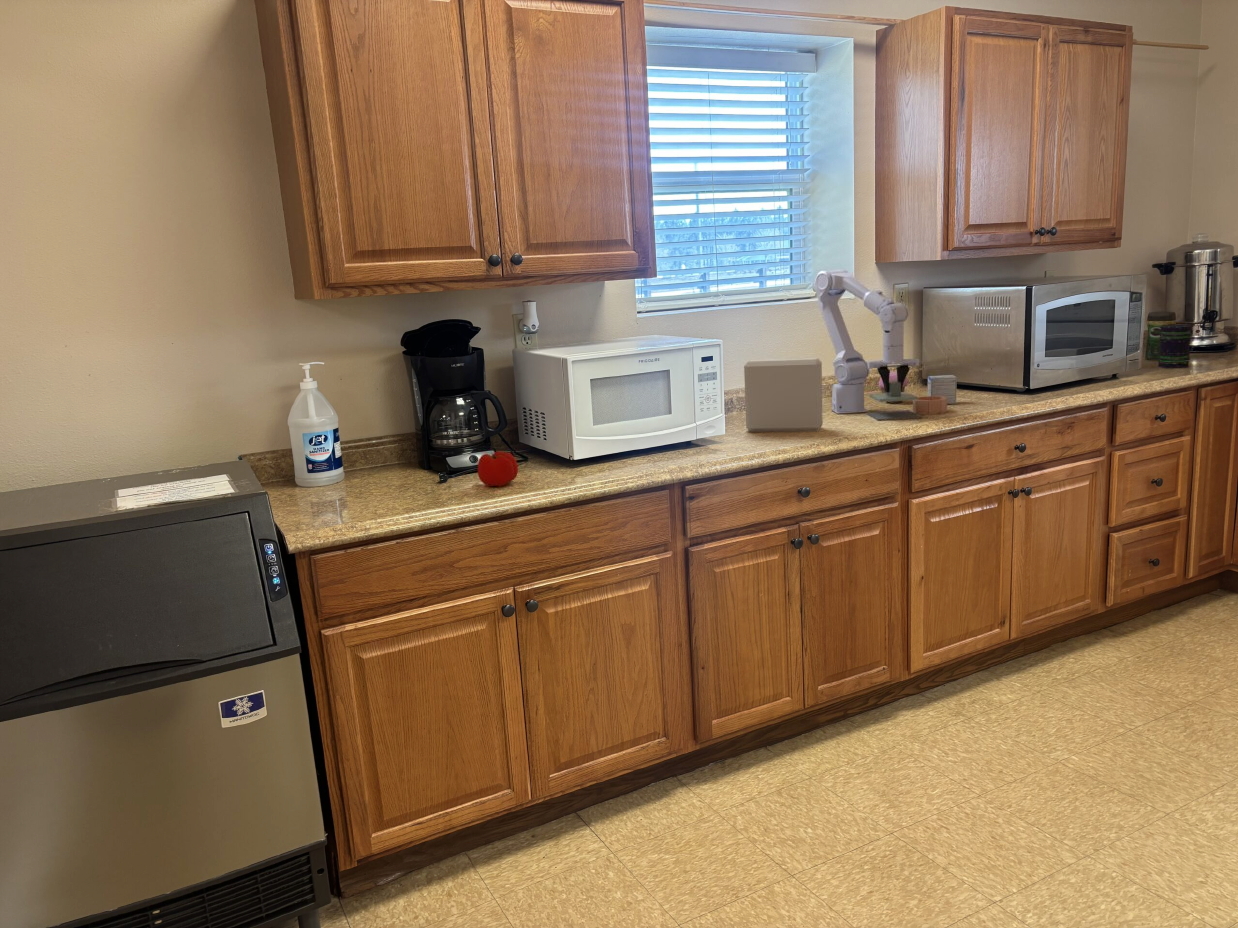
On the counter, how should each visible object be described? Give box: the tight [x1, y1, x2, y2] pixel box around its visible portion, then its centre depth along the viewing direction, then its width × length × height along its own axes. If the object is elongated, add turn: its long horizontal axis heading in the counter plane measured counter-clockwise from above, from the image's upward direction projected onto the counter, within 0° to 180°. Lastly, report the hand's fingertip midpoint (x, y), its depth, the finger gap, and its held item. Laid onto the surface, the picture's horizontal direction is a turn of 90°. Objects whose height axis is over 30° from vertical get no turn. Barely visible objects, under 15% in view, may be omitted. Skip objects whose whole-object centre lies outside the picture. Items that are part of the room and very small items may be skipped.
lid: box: [869, 381, 919, 403], centre depth 265 cm, size 11×11×5 cm
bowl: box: [912, 395, 948, 415], centre depth 270 cm, size 9×9×4 cm
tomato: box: [477, 450, 519, 487], centre depth 211 cm, size 9×9×8 cm
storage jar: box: [1157, 324, 1192, 369], centre depth 327 cm, size 10×10×15 cm
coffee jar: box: [1144, 310, 1177, 361], centre depth 349 cm, size 10×8×19 cm
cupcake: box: [878, 371, 909, 404], centre depth 290 cm, size 9×9×10 cm
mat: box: [866, 409, 922, 422], centre depth 266 cm, size 12×12×1 cm
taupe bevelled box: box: [743, 357, 824, 433], centre depth 254 cm, size 21×8×20 cm, turn 73°
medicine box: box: [927, 374, 958, 405], centre depth 282 cm, size 8×4×9 cm, turn 84°
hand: (893, 391), depth 265 cm, fingers closed on lid, 3 cm apart
